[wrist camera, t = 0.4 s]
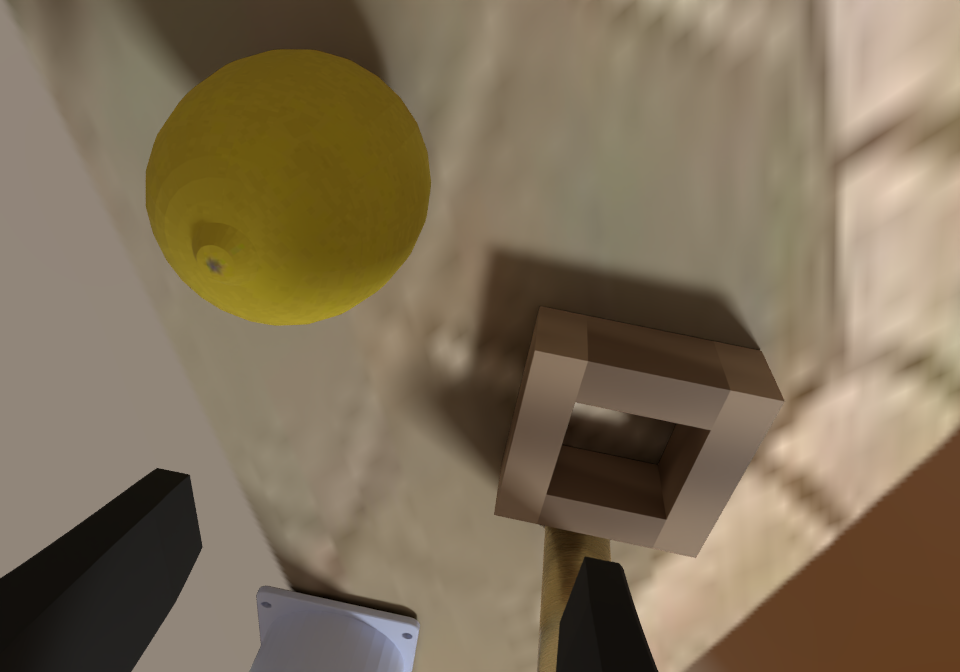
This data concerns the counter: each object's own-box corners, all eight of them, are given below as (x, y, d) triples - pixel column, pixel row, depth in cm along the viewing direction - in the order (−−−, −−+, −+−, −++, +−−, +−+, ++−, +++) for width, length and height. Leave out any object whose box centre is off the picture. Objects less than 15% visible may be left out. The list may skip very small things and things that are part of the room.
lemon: (223, 96, 17) (-15, 194, 10) (384, -16, 15) (221, 14, 8) (339, 260, 19) (209, 428, 12) (492, 183, 17) (436, 335, 10)
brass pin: (599, 550, 25) (607, 773, 18) (539, 537, 25) (525, 755, 18) (616, 510, 23) (631, 736, 17) (553, 496, 23) (543, 716, 17)
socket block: (684, 501, 22) (695, 557, 20) (501, 462, 23) (493, 514, 21) (761, 350, 19) (784, 401, 17) (539, 306, 19) (534, 350, 17)
